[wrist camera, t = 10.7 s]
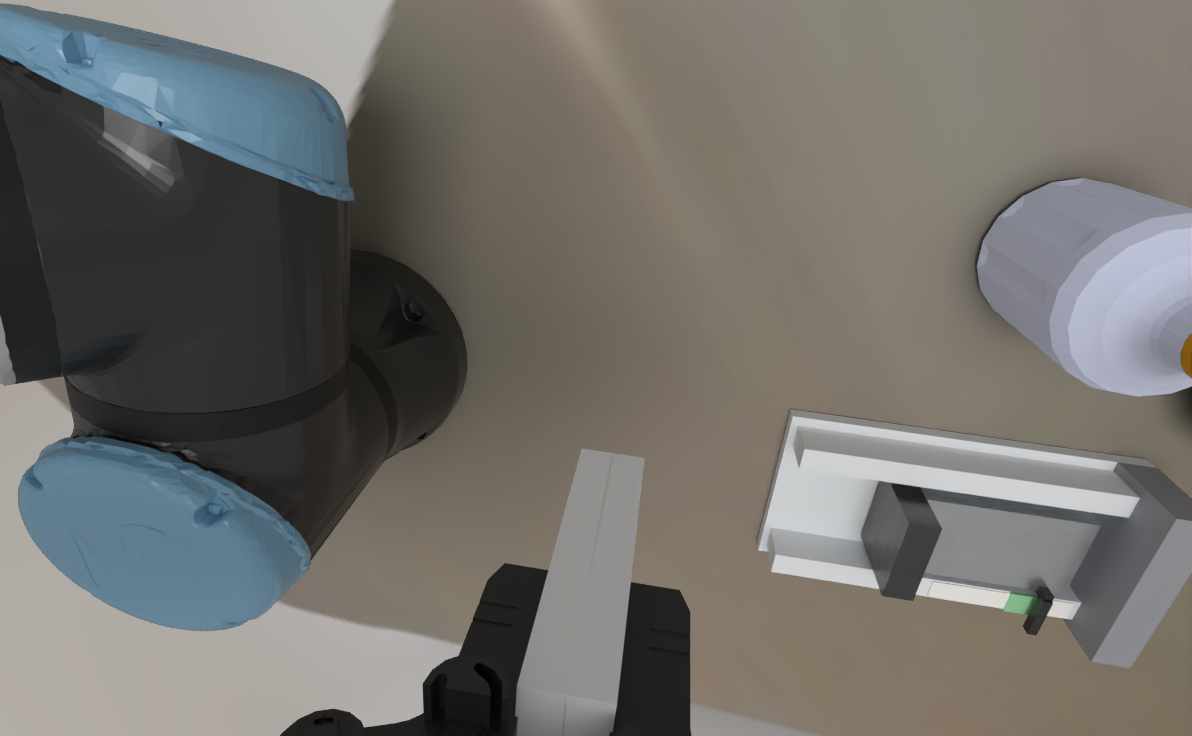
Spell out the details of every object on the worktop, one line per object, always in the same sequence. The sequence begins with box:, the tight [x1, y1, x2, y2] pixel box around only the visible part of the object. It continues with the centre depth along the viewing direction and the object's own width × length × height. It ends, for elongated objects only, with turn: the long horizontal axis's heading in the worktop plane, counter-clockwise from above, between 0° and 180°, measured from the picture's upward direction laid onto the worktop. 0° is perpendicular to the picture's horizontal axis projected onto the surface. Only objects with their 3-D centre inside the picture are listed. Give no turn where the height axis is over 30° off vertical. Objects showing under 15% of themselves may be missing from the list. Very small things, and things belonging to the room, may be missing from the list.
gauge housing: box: [757, 409, 1192, 668], centre depth 45 cm, size 24×12×7 cm, turn 84°
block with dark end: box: [861, 481, 1101, 635], centre depth 45 cm, size 13×9×6 cm
